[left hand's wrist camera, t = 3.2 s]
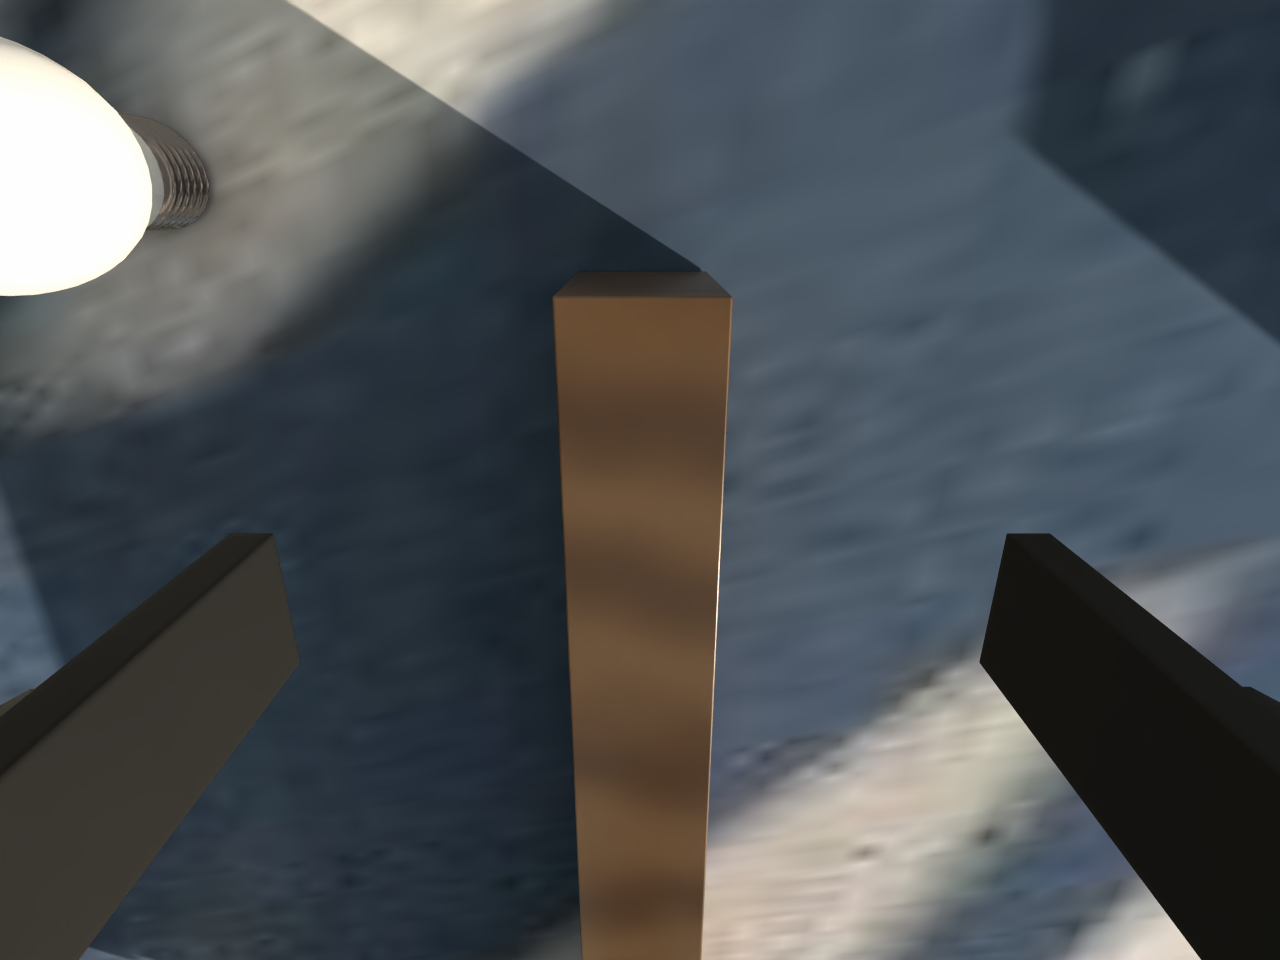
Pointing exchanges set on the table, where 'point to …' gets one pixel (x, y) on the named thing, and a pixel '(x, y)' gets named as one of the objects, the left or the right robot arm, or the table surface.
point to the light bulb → (80, 177)
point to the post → (642, 593)
